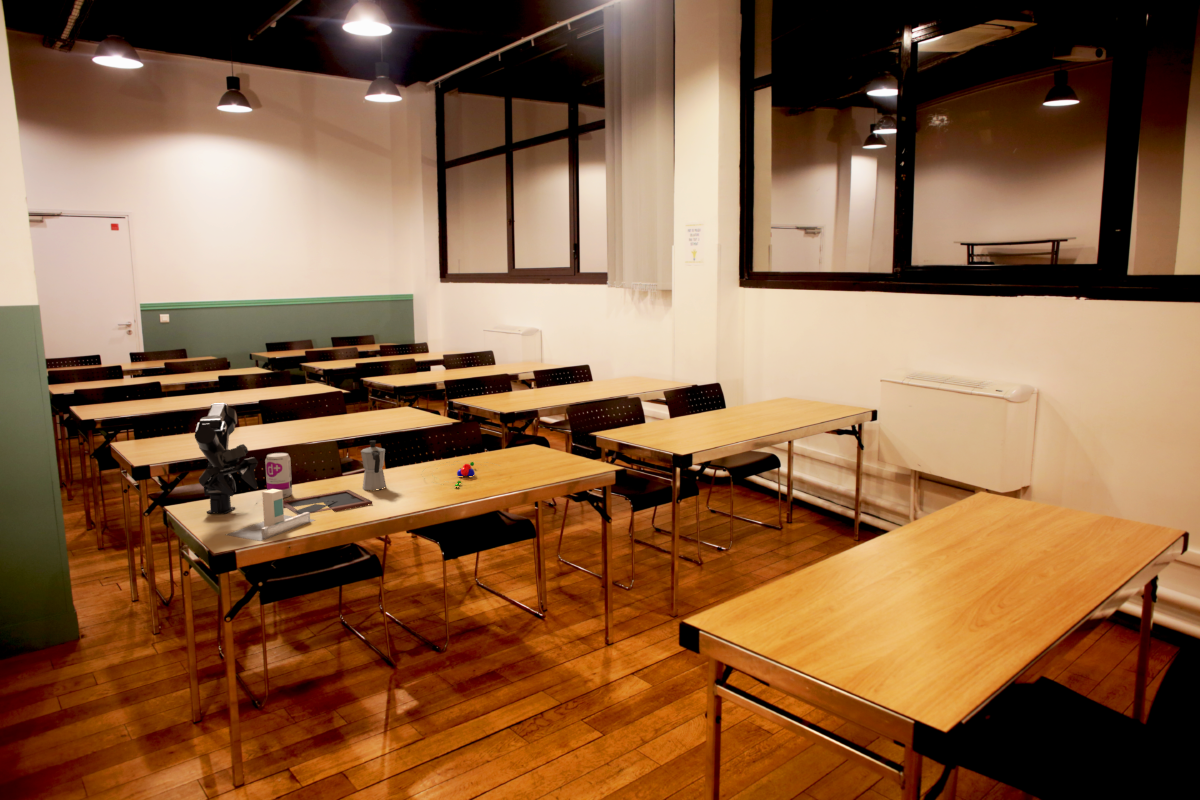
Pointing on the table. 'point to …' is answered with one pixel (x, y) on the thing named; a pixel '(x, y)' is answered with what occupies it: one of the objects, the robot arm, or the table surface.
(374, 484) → the coffee maker
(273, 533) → the rail
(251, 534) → the shelf board
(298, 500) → the picture frame
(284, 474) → the supplement can
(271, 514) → the carton
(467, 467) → the atom model
